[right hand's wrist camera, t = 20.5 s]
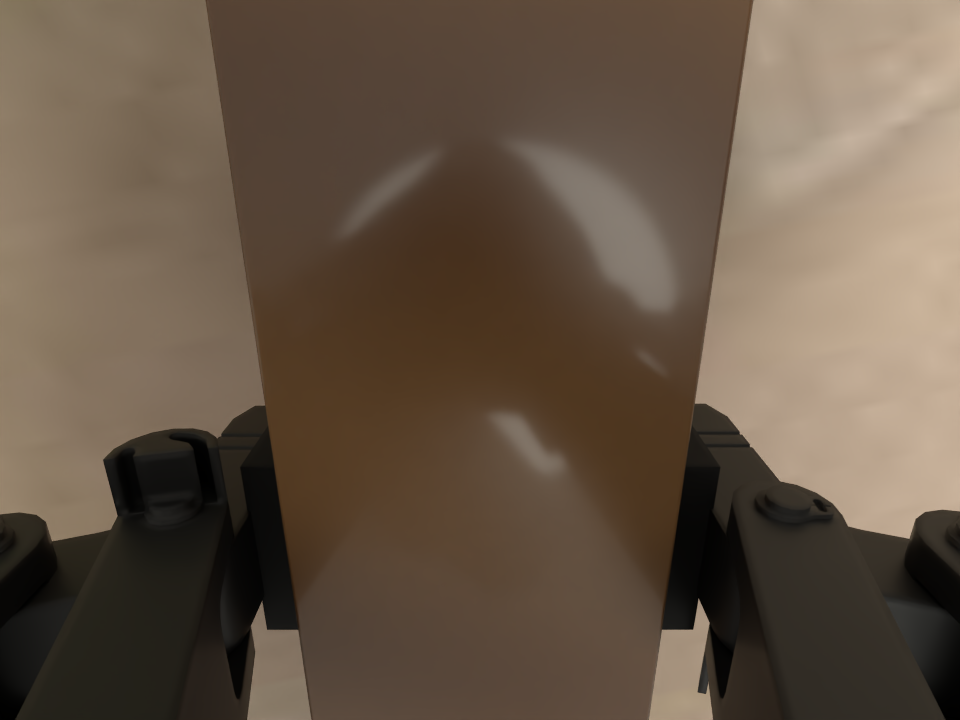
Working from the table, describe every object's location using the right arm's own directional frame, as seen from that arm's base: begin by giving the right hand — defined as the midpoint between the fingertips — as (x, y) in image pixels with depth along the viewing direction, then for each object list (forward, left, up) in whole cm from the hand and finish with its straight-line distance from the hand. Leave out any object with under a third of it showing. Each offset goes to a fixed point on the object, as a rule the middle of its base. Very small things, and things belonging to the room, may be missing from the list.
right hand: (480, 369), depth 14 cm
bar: (+28, 0, -1) cm, 28 cm away
